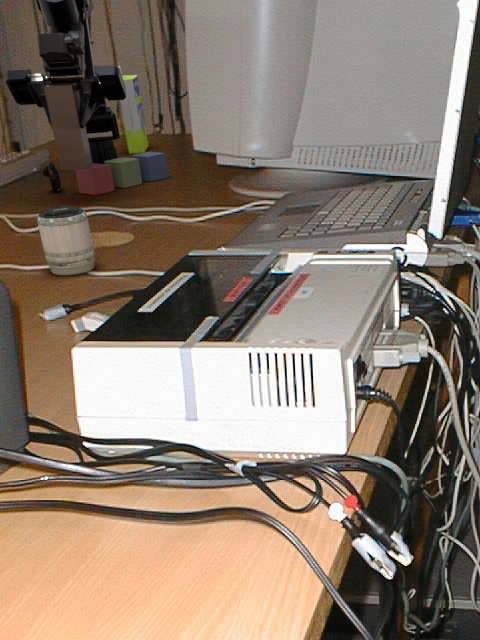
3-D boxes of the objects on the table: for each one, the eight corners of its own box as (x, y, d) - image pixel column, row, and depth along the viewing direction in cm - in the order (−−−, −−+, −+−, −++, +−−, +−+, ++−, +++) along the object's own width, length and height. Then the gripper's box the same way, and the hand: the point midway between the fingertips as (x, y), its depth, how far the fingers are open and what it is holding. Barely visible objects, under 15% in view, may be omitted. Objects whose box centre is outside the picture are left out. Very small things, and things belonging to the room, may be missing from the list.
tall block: (66, 165, 158) (50, 83, 151) (92, 164, 158) (77, 82, 152) (61, 170, 154) (43, 86, 147) (87, 168, 154) (71, 85, 148)
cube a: (152, 175, 179) (149, 151, 177) (168, 177, 177) (165, 152, 175) (135, 179, 176) (131, 155, 174) (151, 181, 174) (147, 156, 171)
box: (145, 153, 203) (131, 68, 194) (127, 154, 203) (112, 69, 194) (149, 146, 212) (136, 64, 203) (131, 147, 212) (118, 65, 203)
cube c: (98, 188, 170) (94, 163, 167) (114, 190, 167) (110, 164, 165) (79, 193, 166) (74, 167, 164) (95, 195, 164) (90, 169, 162)
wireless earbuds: (60, 194, 166) (54, 165, 163) (46, 195, 165) (40, 166, 163) (62, 187, 172) (56, 159, 169) (48, 188, 171) (42, 160, 169)
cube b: (126, 181, 174) (122, 157, 172) (142, 183, 172) (138, 158, 170) (108, 186, 171) (103, 161, 169) (124, 188, 169) (120, 162, 167)
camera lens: (42, 269, 122) (28, 209, 118) (86, 260, 125) (74, 201, 121) (58, 279, 117) (44, 216, 113) (104, 269, 120) (92, 208, 116)
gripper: (-7, 15, 147) (-9, 97, 143) (109, 10, 148) (110, 91, 144) (17, 64, 158) (17, 142, 154) (125, 59, 159) (127, 136, 155)
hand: (67, 127), depth 152 cm, fingers closed on tall block, 4 cm apart
